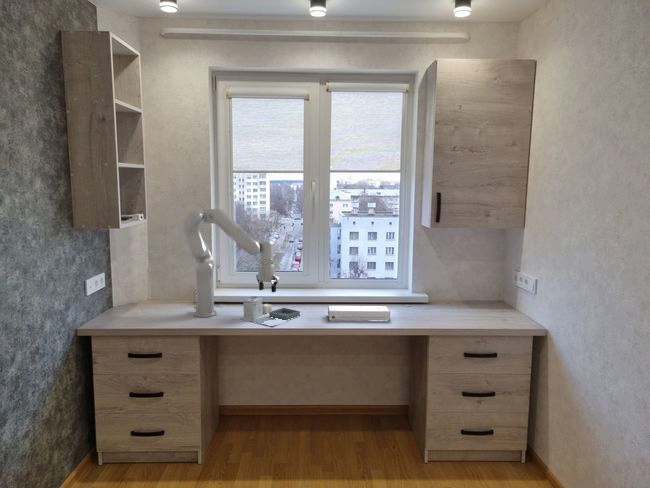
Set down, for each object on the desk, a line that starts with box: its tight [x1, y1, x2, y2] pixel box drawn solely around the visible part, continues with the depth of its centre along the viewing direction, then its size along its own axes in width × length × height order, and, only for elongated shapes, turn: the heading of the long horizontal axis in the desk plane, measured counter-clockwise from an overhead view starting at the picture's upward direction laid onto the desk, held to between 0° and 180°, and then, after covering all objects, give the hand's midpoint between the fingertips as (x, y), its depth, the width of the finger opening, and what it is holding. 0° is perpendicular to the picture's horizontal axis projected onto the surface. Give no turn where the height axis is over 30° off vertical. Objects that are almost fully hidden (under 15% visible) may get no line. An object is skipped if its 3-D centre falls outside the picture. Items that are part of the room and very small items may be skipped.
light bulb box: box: [242, 295, 263, 320], centre depth 245 cm, size 11×7×11 cm, turn 161°
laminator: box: [327, 305, 391, 321], centre depth 248 cm, size 34×12×6 cm, turn 92°
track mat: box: [239, 314, 276, 325], centre depth 241 cm, size 24×12×1 cm, turn 54°
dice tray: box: [268, 307, 301, 321], centre depth 249 cm, size 12×12×3 cm
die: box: [262, 303, 273, 315], centre depth 257 cm, size 5×5×5 cm
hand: (267, 290), depth 256 cm, fingers open, 9 cm apart
